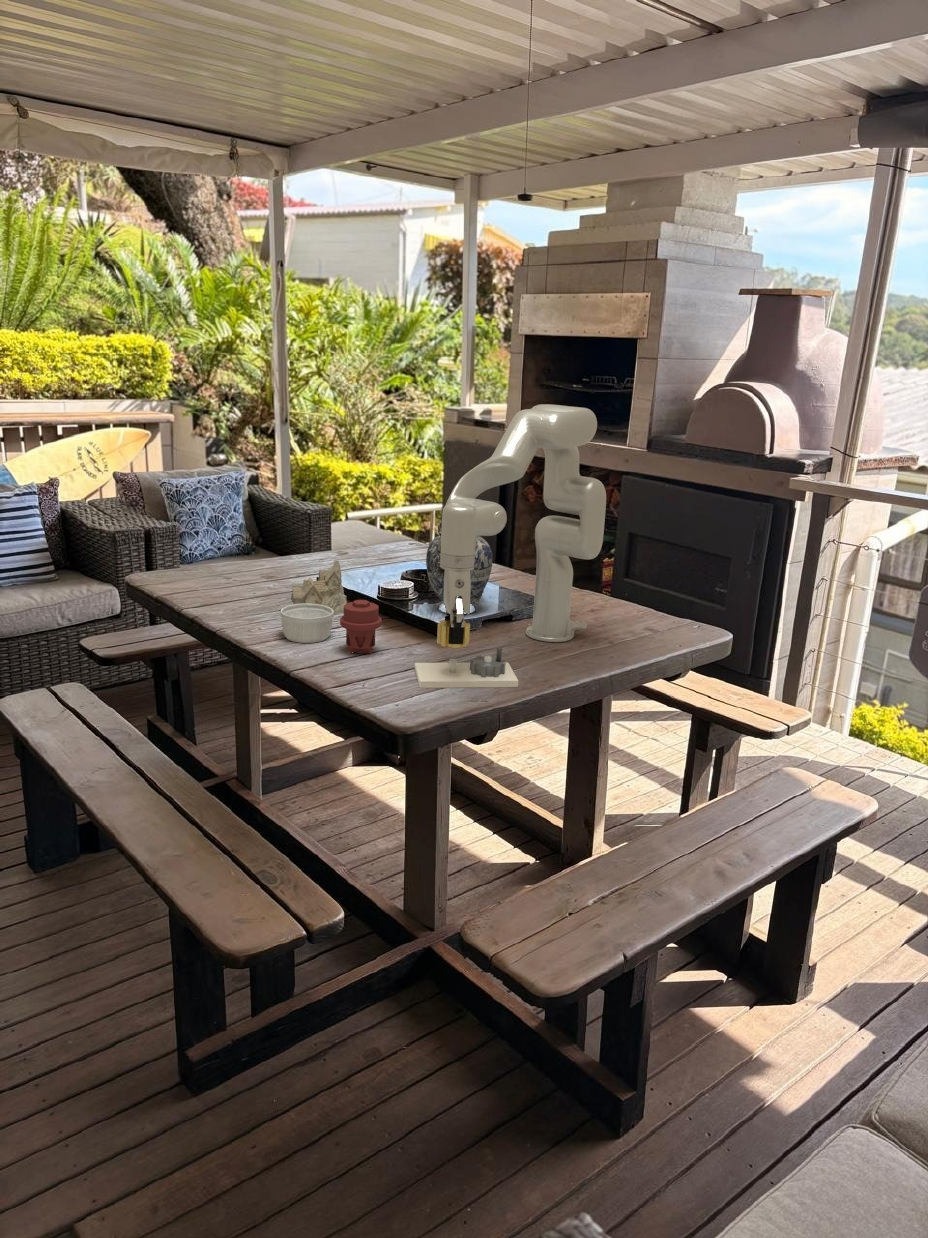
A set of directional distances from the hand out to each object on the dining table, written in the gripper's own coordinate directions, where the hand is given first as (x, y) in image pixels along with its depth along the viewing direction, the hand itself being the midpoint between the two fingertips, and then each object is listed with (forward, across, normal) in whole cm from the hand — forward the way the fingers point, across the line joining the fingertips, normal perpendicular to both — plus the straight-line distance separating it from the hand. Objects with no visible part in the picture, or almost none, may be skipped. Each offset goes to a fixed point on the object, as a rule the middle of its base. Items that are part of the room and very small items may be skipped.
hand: (453, 637), depth 205 cm
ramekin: (+10, +30, +33) cm, 46 cm away
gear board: (+10, 0, -3) cm, 10 cm away
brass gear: (+1, 0, 0) cm, 1 cm away
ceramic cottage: (+10, +56, +30) cm, 64 cm away
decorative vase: (+9, +55, -9) cm, 56 cm away
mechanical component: (+10, +19, +20) cm, 29 cm away
